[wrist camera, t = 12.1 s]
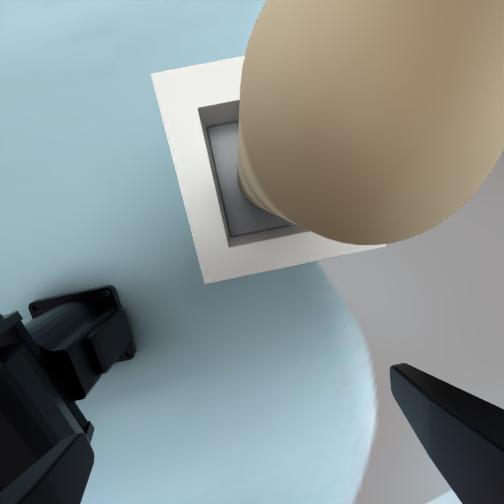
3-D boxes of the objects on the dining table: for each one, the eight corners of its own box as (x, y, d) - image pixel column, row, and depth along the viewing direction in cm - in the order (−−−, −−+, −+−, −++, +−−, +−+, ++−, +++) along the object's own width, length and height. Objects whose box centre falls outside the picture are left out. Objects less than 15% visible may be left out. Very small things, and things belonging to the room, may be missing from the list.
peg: (231, 202, 18) (215, 216, 4) (245, 131, 17) (278, -131, 3) (295, 216, 19) (456, 266, 5) (312, 148, 18) (573, -23, 4)
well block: (210, 266, 19) (204, 284, 15) (170, 102, 17) (150, 73, 13) (356, 236, 20) (386, 246, 16) (340, 69, 17) (371, 31, 13)
